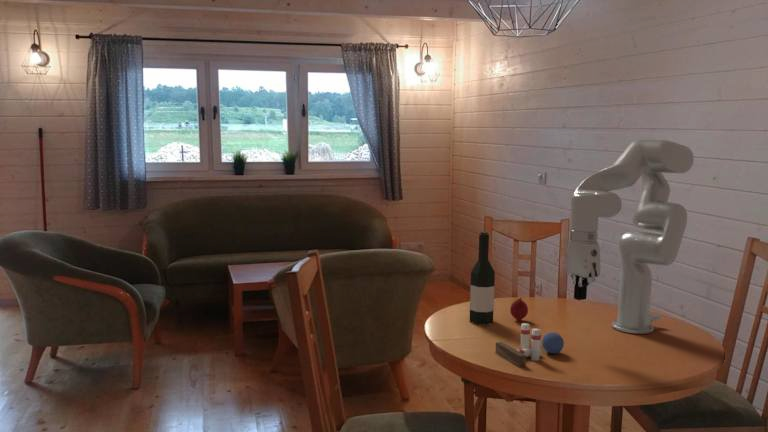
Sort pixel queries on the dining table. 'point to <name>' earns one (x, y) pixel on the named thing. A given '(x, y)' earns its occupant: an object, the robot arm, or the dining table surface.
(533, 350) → the pin
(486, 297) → the wine bottle
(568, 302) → the dining table surface
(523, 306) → the onion
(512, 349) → the wall
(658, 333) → the dining table surface
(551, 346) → the ball
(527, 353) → the pin front
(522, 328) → the pin
